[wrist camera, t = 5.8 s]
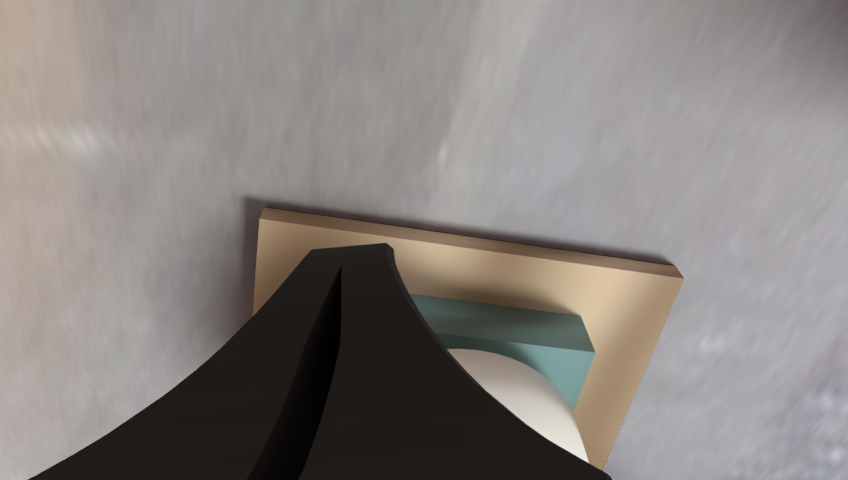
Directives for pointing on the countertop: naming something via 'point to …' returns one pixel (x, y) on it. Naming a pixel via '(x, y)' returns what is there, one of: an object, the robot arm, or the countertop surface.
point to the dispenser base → (509, 305)
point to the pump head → (525, 396)
